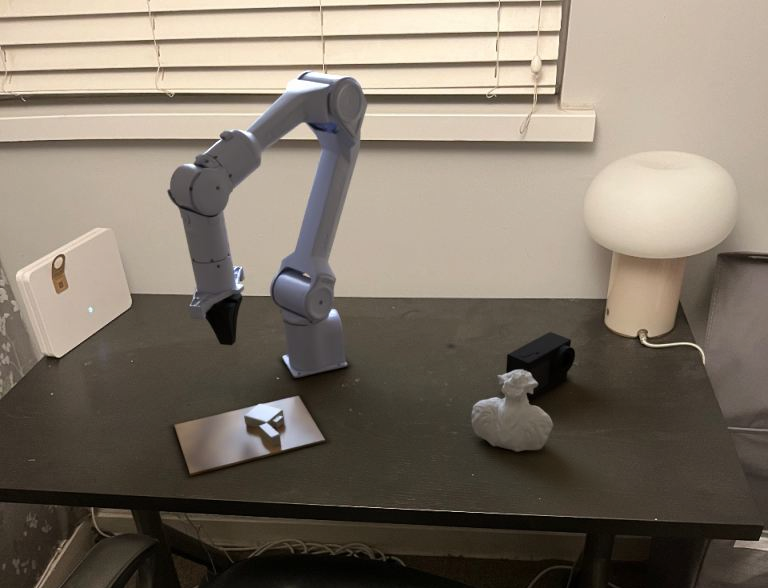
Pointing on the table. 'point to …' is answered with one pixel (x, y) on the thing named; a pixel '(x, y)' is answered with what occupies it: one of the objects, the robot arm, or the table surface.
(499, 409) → the bust
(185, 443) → the wooden board
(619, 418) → the table surface
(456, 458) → the table surface
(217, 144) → the robot arm
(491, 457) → the table surface
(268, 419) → the lighter
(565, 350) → the digital camera
